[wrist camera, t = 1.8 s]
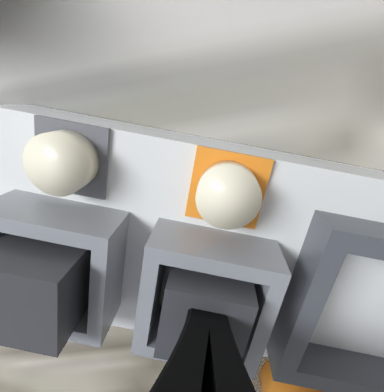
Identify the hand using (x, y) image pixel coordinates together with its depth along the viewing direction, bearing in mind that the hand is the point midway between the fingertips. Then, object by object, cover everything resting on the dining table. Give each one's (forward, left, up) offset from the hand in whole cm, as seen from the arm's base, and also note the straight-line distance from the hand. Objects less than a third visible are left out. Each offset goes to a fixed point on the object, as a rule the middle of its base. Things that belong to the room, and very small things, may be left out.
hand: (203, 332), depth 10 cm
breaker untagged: (0, +7, -2) cm, 7 cm away
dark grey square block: (0, 0, -2) cm, 2 cm away
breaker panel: (+1, -1, -6) cm, 6 cm away
